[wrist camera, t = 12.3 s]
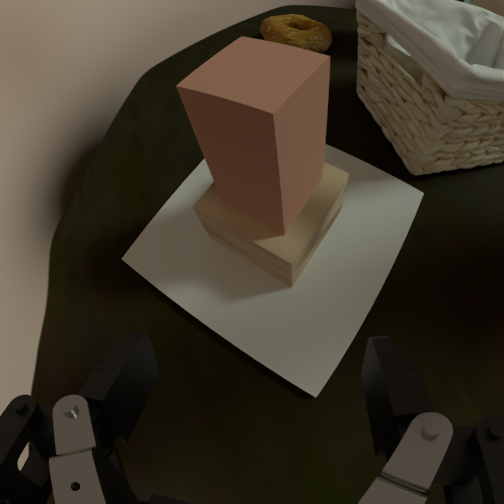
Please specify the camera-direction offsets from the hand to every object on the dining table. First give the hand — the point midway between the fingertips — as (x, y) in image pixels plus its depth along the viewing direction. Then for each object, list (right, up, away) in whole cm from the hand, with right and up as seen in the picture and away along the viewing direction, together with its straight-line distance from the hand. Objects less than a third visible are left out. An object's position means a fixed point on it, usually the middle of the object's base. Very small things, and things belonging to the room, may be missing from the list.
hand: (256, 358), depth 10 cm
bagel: (+7, +35, +28) cm, 46 cm away
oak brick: (+2, +6, +15) cm, 16 cm away
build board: (+2, +6, +16) cm, 17 cm away
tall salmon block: (+1, +8, +10) cm, 13 cm away
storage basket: (+24, +19, +19) cm, 36 cm away
